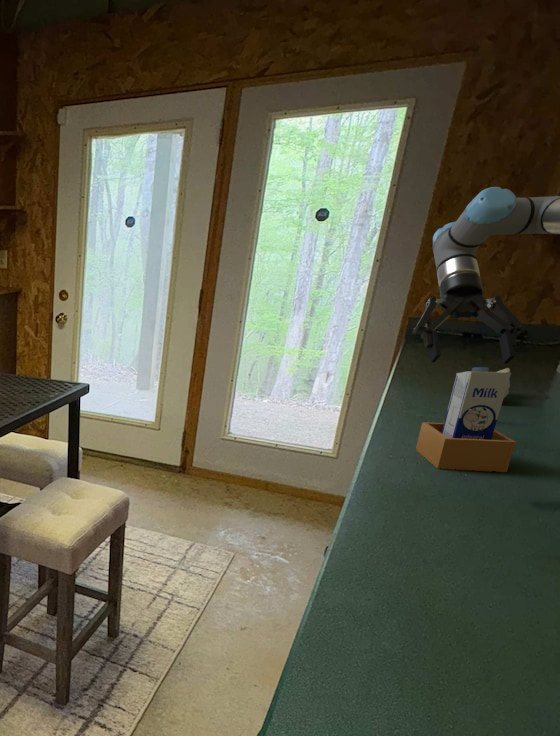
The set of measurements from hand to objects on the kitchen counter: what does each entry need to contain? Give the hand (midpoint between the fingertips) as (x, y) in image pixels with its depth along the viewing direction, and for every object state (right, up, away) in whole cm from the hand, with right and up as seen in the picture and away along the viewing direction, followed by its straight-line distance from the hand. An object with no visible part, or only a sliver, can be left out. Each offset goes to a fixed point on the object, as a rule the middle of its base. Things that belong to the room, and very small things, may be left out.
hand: (472, 359), depth 136 cm
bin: (-1, -22, +3) cm, 22 cm away
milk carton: (-1, -21, +2) cm, 22 cm away
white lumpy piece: (+43, -2, +48) cm, 65 cm away
